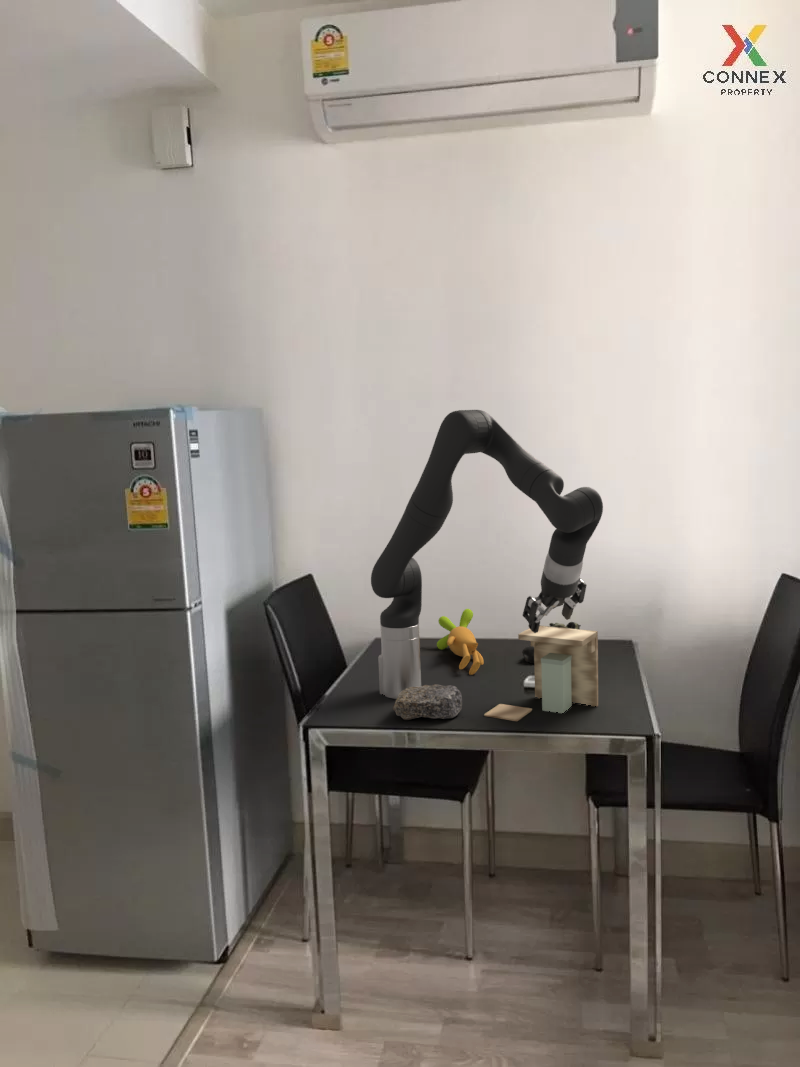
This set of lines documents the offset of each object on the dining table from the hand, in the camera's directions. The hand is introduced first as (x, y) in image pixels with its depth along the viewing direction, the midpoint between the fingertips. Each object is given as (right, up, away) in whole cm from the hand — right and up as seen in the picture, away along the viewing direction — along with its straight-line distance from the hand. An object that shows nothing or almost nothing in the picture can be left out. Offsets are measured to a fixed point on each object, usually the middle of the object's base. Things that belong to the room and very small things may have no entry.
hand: (549, 623), depth 196 cm
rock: (-26, -22, +8) cm, 35 cm away
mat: (-8, -21, +6) cm, 23 cm away
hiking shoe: (+9, -14, +51) cm, 54 cm away
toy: (-16, -15, +52) cm, 56 cm away
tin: (+3, -20, +8) cm, 22 cm away
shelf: (+4, -20, +9) cm, 22 cm away
